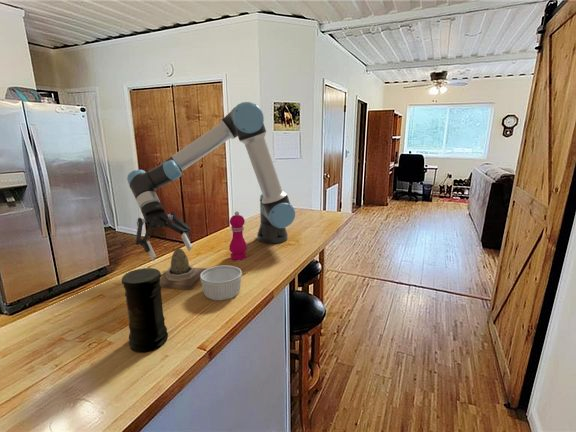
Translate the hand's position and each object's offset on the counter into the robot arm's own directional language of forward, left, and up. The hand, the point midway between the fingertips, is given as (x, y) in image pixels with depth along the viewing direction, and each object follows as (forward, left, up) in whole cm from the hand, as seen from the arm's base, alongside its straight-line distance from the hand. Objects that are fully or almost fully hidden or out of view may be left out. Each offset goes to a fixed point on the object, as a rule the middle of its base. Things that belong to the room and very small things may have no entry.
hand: (173, 253), depth 112 cm
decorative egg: (-3, +2, -7) cm, 8 cm away
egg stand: (-3, +2, -9) cm, 9 cm away
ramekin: (-21, +9, -9) cm, 25 cm away
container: (-12, +36, -9) cm, 39 cm away
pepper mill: (-17, -21, -9) cm, 29 cm away
